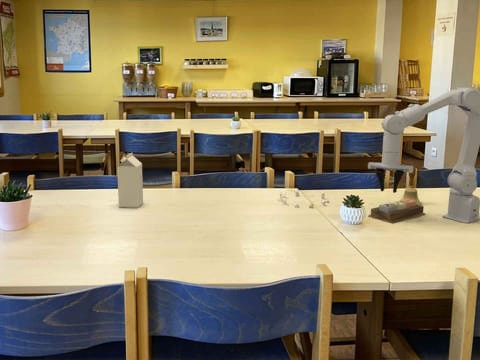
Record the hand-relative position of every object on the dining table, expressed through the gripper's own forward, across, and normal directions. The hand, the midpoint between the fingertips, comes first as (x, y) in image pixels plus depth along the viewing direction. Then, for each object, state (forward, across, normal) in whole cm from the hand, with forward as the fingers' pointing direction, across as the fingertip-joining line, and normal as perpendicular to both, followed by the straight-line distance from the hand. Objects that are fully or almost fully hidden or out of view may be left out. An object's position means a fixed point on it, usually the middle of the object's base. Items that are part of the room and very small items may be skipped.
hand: (388, 191), depth 185 cm
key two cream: (+7, -2, -5) cm, 9 cm away
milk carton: (+10, +86, +29) cm, 91 cm away
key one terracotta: (+7, -5, -10) cm, 13 cm away
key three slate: (+7, 0, 0) cm, 7 cm away
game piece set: (+10, +33, -8) cm, 35 cm away
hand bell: (+10, -3, -25) cm, 27 cm away
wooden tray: (+9, -2, -5) cm, 11 cm away
